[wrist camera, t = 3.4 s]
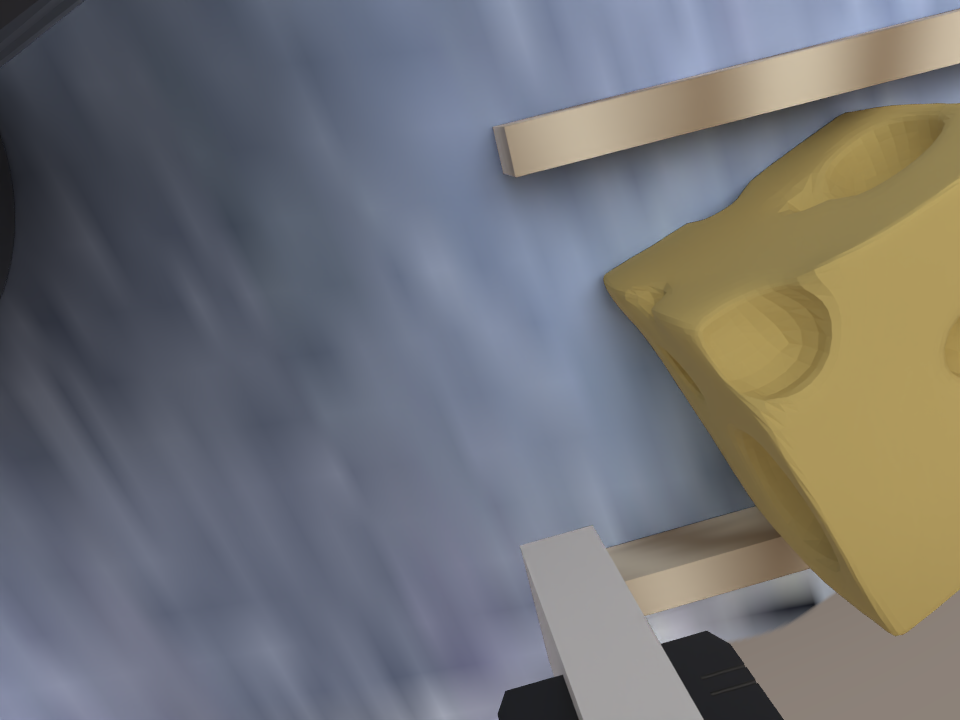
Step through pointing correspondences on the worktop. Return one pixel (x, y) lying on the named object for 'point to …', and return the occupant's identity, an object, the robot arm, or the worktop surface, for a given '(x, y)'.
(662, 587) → the channel
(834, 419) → the cheese
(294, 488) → the worktop surface
